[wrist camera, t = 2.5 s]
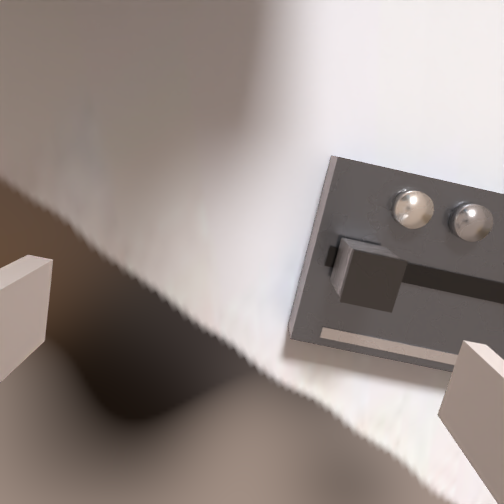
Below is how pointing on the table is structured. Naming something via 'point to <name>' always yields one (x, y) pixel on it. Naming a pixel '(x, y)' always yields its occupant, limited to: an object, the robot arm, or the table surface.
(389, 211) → the console
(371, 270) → the slider
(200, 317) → the table surface
